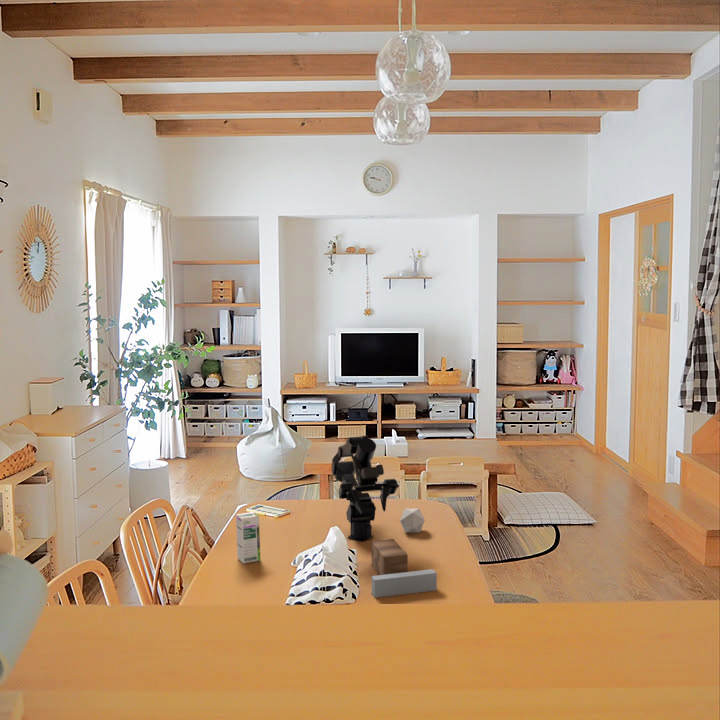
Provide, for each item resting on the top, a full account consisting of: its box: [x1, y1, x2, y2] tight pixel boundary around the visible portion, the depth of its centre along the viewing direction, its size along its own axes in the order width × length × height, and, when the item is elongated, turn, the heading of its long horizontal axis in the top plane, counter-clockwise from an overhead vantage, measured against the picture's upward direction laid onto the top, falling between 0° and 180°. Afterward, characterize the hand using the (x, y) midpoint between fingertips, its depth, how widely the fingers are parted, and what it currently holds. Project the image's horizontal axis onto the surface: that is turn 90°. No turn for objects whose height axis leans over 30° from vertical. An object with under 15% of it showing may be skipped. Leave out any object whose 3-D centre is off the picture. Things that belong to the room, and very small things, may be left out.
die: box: [399, 507, 426, 534], centre depth 264 cm, size 8×9×10 cm
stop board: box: [371, 568, 438, 599], centre depth 213 cm, size 3×18×5 cm, turn 105°
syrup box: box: [235, 511, 261, 564], centre depth 239 cm, size 6×6×14 cm
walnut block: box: [370, 538, 409, 575], centre depth 227 cm, size 14×7×8 cm, turn 14°
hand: (373, 511), depth 242 cm, fingers open, 7 cm apart
